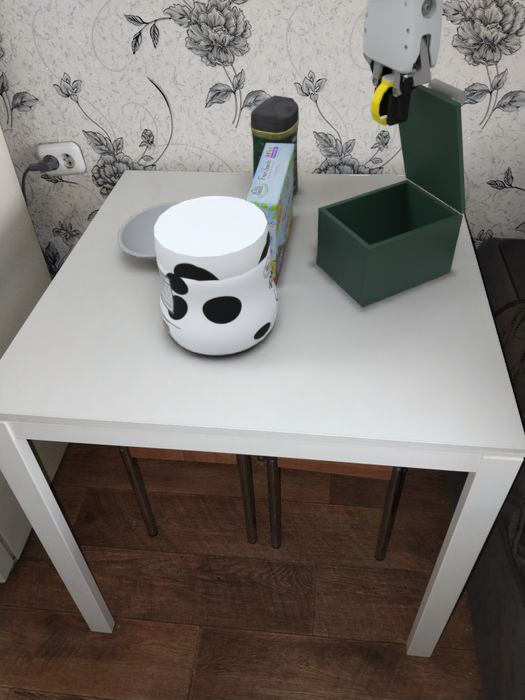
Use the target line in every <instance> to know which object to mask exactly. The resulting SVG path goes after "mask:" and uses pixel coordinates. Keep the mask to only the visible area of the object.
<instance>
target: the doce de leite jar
mask: <svg viewBox="0 0 525 700" xmlns="http://www.w3.org/2000/svg"><path fill="white" fill-rule="evenodd" d="M180 202H181V203H179V204H177V205H174V206H172V207H170V208H169V209H168V210H167V211H165V212H164V213H163V214H162V215H160V216H159V218H158V220H157V222H156V224H155V225H154V241H155V251H156V260H155V261H156V264H157V269H158V272H159V277H160V283H161V286H160V293H159V312H160V316H161V320H162V322H163V325H164V328H165V330H166V332H167V333H168V335H169V336H170V338H171V339H172V340H173V341H174V342H175V343H176V344H177V345H179V346H180V347H181V348H183V349H185V350H187V351H189V352H191V353H195V354H199V355H203V356H209V357H220V356H231V355H235V354H239V353H242V352H244V351H248V350H249V349H251V348H253V347H255V346H257V345H258V344H260V343H261V342H262V341H263V340H264V339H266V337H267V336H268V334H269V333H270V332H271V331H272V329H273V327H274V325H275V322H276V318H277V314H278V307H279V296H278V290H277V287H276V285H275V283H274V281H273V278H272V275H271V271H270V233H269V227H268V223H267V220H266V217H265V215H264V212H263V211H262V210H261V209H259V208H258V207H257V206H256V205H255V204H253V203H250V202H248V201H246V199H242V198H241V197H235V196H226V195H208V196H207V195H206V196H205V195H204V196H200V197H196V198H191V199H186V200H184V201H180Z"/></svg>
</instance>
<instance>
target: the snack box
mask: <svg viewBox="0 0 525 700" xmlns="http://www.w3.org/2000/svg"><path fill="white" fill-rule="evenodd" d="M294 145H295V144H286V143H266V145H265V148H264V150H263V153H262V156H261V159H260V162H259V165H258V168H257V170H256V173H255V176H254V179H253V178H252V181H251V184H250V187H249V190H248V193H247V196H246V199H245V201H248V202H250V203H253V204H255V205H256V206H257V207H258V208H259V209H261V210H262V211H263V212H264V215H265V217H266V220H267V223H268V227H269V233H270V271H271V275H272V278H273V281H274V283H275V286H276V285H277V284H278V281H279V278H280V277H279V276H280V272H281V268H282V264H283V259H284V255H285V252H286V248H287V244H288V240H289V236H290V232H291V228H292V224H293V220H294V196H293V173H294Z"/></svg>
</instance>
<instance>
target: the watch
mask: <svg viewBox="0 0 525 700" xmlns="http://www.w3.org/2000/svg"><path fill="white" fill-rule="evenodd" d="M403 81H404V80H403ZM393 82H394V74H387V75H384V76H383V77H382V82H381V84H380V85H379V87H378V88H377V89H376V91H375V93H374V92H373V96H372V98H371V103H370V113H371V117H372V120H373V121H375V122H376V123H378V124H380V125H381V126H384V127H386V126H388V125H387V124H386V118H387V116H386V117H384V118H381V117H380V115H379V105H380V101H381V99H382V97H383V94H384V93H385V92H386V90H387V89H388V88H389V87H393Z"/></svg>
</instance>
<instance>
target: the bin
mask: <svg viewBox="0 0 525 700" xmlns="http://www.w3.org/2000/svg"><path fill="white" fill-rule="evenodd" d="M317 213H318V214H317V238H316V239H317V240H316V265H317V266H318V267H319V268H320V269H321V270H322V271H323V272H325V274H327V276H329V278H330V279H332V280H333V281H334V282H335V283H336V284H337V285H338V286H339V287H340V288H341V289H343V291H344V292H346V293H347V294H348V295H349V296H350V297H351V298H352V299H353V300H354V301H355V302H356V303H357V304H358V305H360V307H362V308H365V307H368V306H371V305H372V304H375V303H378V302H380V301H383V300H385V299H387V298H390V297H393V296H395V295H398V294H400V293H403V292H405V291H407V290H410V289H413V288H415V287H418V286H421V285H422V284H423V285H424V284H425V283H428V282H430V281H434V280H435V279H438V278H441V277H443V276H446V275H448V274H450V273H451V272H452V266H453V262H454V257H455V254H456V249H457V244H458V240H459V235H460V231H461V226H462V223H463V217H464V215H463V214H461V213H459V212H458V211H456V210H455V209H453V208H452V207H450V206H448V205H447V204H445V203H444V202H442V201H441V200H439V199H438V198H436V197H434V196H433V195H431V194H430V193H428V192H427V191H425V190H424V189H422V188H421V187H419V186H417V185H416V184H414V183H413V182H411V181H410V180H408V179H404V180H401V181H398V182H394V183H392V184H389V185H386V186H383V187H379V188H376V189H373V190H370V191H367V192H363V193H361V194H358V195H355V196H351V197H348V198H345V199H342V200H339V201H335V202H333V203H330V204H327V205H324V206H320V207H318V209H317Z"/></svg>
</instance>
